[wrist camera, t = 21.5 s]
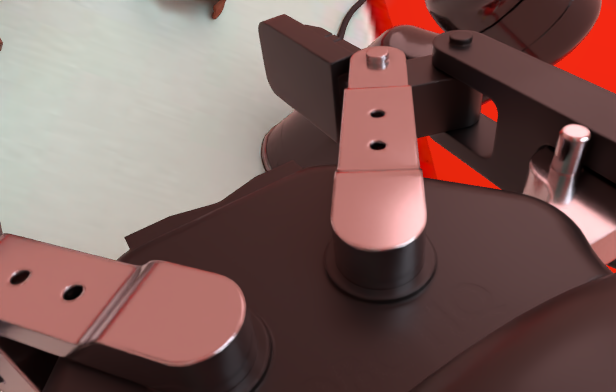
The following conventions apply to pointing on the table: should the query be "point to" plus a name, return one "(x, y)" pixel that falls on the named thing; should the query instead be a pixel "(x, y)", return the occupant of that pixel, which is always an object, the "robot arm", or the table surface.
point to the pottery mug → (218, 8)
